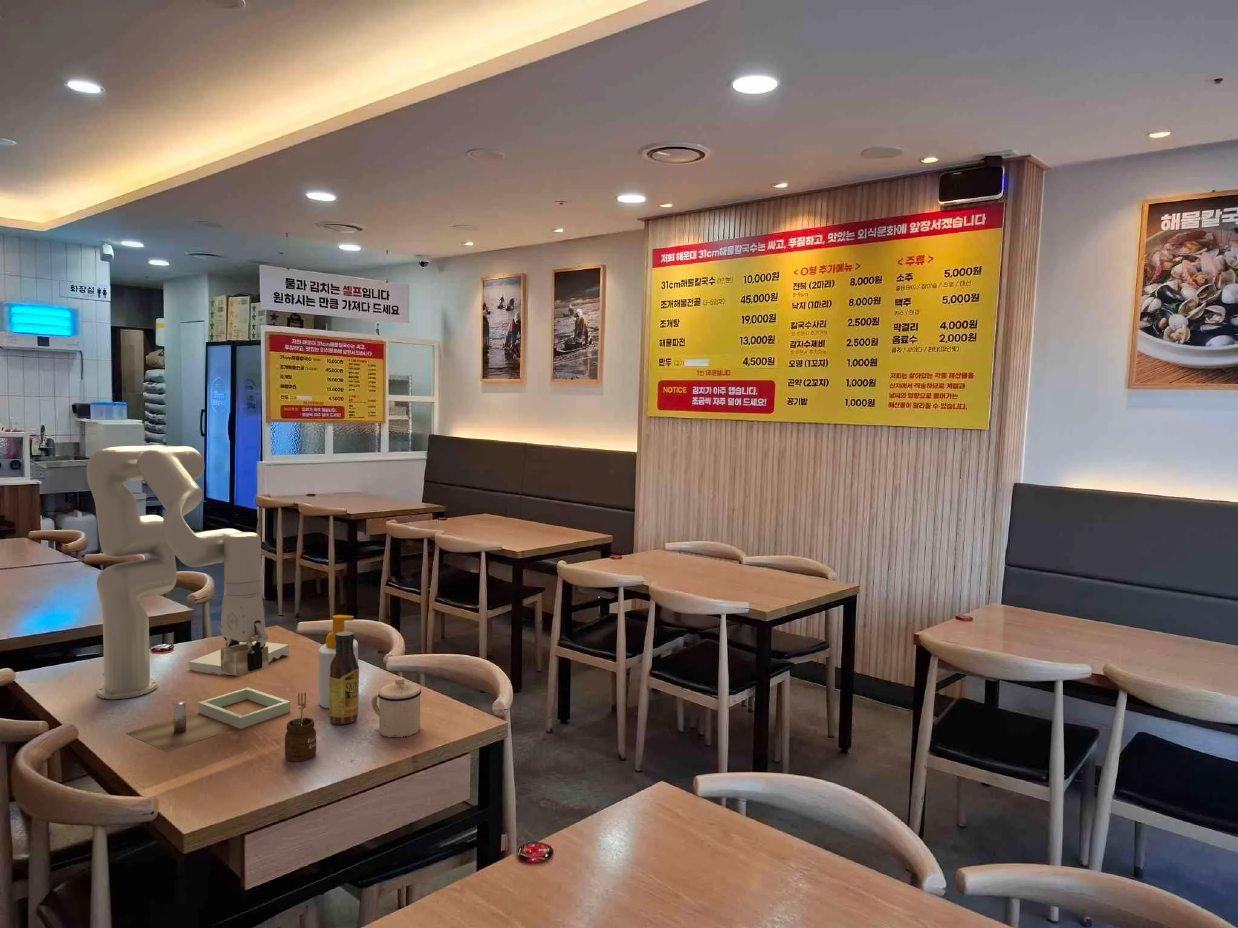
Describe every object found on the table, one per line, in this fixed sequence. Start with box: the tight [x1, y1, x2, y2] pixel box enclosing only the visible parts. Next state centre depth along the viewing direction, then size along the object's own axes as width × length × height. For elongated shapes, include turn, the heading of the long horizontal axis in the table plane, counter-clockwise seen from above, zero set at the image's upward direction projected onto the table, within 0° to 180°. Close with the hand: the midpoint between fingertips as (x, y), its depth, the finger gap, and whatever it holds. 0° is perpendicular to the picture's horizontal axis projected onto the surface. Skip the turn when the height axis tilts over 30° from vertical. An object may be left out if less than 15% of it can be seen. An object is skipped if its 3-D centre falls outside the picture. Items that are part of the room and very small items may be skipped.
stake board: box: [125, 712, 234, 753], centre depth 170 cm, size 16×14×2 cm
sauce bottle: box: [328, 630, 360, 725], centre depth 180 cm, size 7×6×20 cm
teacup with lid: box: [371, 677, 422, 738], centre depth 176 cm, size 12×9×12 cm
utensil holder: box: [284, 692, 317, 762], centre depth 162 cm, size 6×6×12 cm
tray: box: [197, 687, 291, 730], centre depth 181 cm, size 16×12×4 cm
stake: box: [172, 700, 187, 733], centre depth 169 cm, size 2×2×6 cm
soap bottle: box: [318, 614, 359, 709], centre depth 193 cm, size 13×8×20 cm, turn 178°
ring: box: [220, 642, 269, 677], centre depth 180 cm, size 7×7×5 cm
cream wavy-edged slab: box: [188, 641, 290, 676], centre depth 220 cm, size 15×3×20 cm
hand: (244, 665), depth 180 cm, fingers closed on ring, 7 cm apart
